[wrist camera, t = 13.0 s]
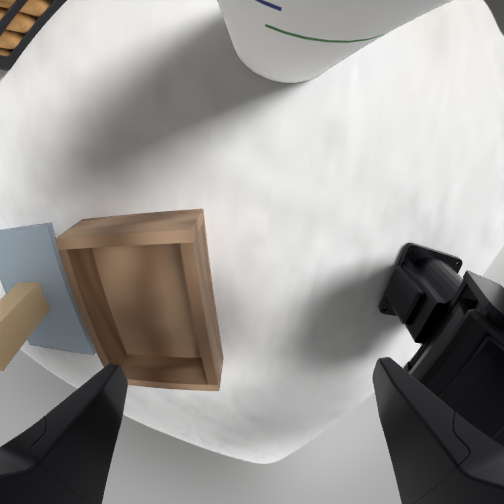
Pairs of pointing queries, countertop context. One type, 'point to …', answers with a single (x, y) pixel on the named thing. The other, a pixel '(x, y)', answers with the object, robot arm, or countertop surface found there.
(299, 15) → the cylindrical container
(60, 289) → the lid
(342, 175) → the countertop surface
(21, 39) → the ammunition clip
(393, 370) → the robot arm
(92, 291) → the open wooden box
